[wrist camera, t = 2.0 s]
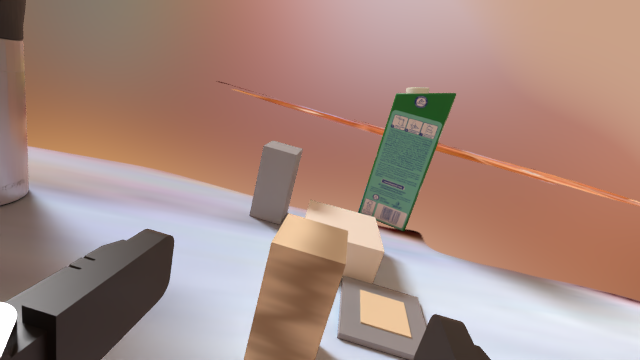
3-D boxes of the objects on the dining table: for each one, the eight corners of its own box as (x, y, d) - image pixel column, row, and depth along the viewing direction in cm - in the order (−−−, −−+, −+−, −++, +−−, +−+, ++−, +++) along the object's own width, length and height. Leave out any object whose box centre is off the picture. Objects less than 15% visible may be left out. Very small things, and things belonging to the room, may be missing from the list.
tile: (337, 337, 27) (339, 331, 27) (342, 279, 36) (343, 274, 36) (434, 367, 27) (437, 361, 27) (415, 301, 36) (417, 296, 35)
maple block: (240, 372, 22) (271, 242, 19) (261, 324, 27) (288, 213, 23) (303, 392, 22) (345, 264, 19) (313, 340, 26) (348, 230, 23)
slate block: (249, 215, 45) (263, 145, 42) (259, 204, 50) (273, 140, 47) (280, 224, 45) (296, 155, 42) (287, 212, 50) (302, 148, 46)
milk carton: (368, 201, 65) (407, 84, 58) (409, 217, 63) (455, 96, 55) (357, 213, 57) (400, 79, 50) (403, 231, 54) (456, 92, 47)
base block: (292, 265, 37) (301, 229, 35) (302, 229, 46) (310, 199, 45) (371, 286, 37) (384, 251, 35) (365, 246, 46) (375, 217, 45)
